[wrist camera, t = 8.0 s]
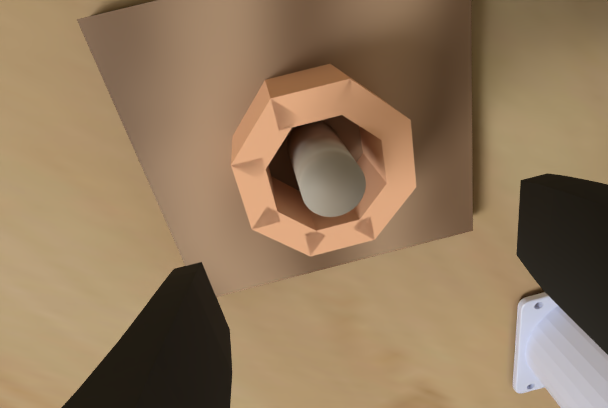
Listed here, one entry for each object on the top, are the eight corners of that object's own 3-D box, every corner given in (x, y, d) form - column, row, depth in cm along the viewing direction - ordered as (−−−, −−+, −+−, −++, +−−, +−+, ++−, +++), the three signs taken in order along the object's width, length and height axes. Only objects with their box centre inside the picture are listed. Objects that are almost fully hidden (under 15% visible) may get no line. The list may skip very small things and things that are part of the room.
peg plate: (456, -70, 14) (555, -101, 10) (462, 219, 20) (526, 284, 15) (87, 17, 14) (14, 28, 9) (202, 286, 19) (191, 372, 15)
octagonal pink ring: (375, 52, 14) (406, 64, 12) (392, 192, 17) (419, 228, 15) (218, 91, 14) (213, 112, 12) (260, 226, 17) (264, 268, 14)
